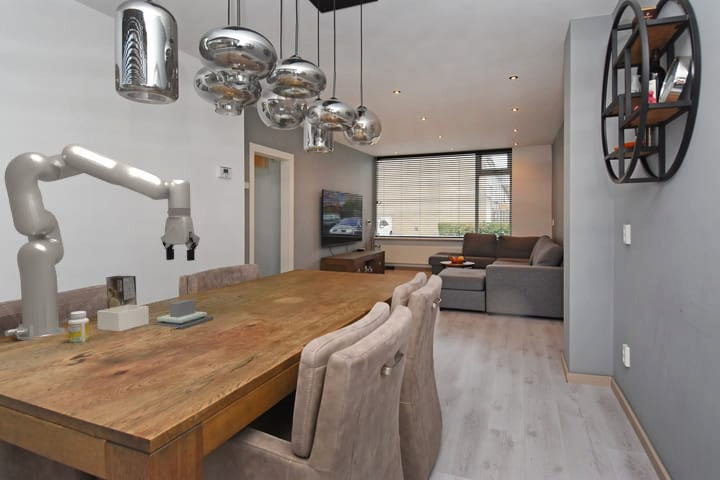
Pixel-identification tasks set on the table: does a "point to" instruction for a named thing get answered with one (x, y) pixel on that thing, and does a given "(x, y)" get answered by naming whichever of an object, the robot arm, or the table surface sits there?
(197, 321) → the charcoal mat
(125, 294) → the coffee box
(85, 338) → the supplement bottle
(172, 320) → the sage lid
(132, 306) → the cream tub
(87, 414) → the table surface
